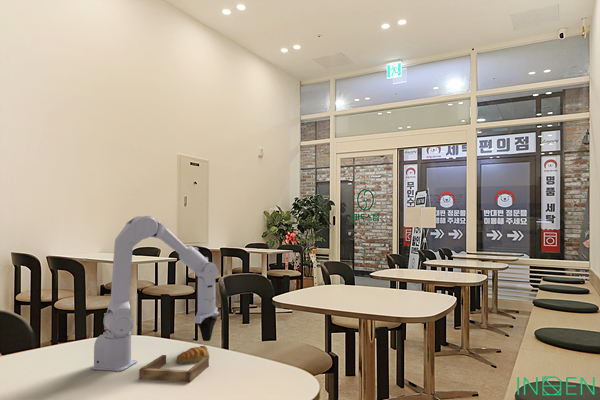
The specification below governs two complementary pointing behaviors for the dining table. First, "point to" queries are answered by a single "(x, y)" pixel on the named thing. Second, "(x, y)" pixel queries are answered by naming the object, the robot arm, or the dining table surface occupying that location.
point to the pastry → (193, 355)
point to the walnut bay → (171, 371)
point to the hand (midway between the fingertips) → (206, 340)
